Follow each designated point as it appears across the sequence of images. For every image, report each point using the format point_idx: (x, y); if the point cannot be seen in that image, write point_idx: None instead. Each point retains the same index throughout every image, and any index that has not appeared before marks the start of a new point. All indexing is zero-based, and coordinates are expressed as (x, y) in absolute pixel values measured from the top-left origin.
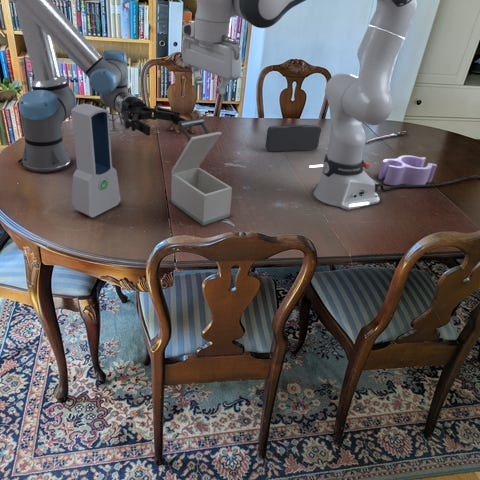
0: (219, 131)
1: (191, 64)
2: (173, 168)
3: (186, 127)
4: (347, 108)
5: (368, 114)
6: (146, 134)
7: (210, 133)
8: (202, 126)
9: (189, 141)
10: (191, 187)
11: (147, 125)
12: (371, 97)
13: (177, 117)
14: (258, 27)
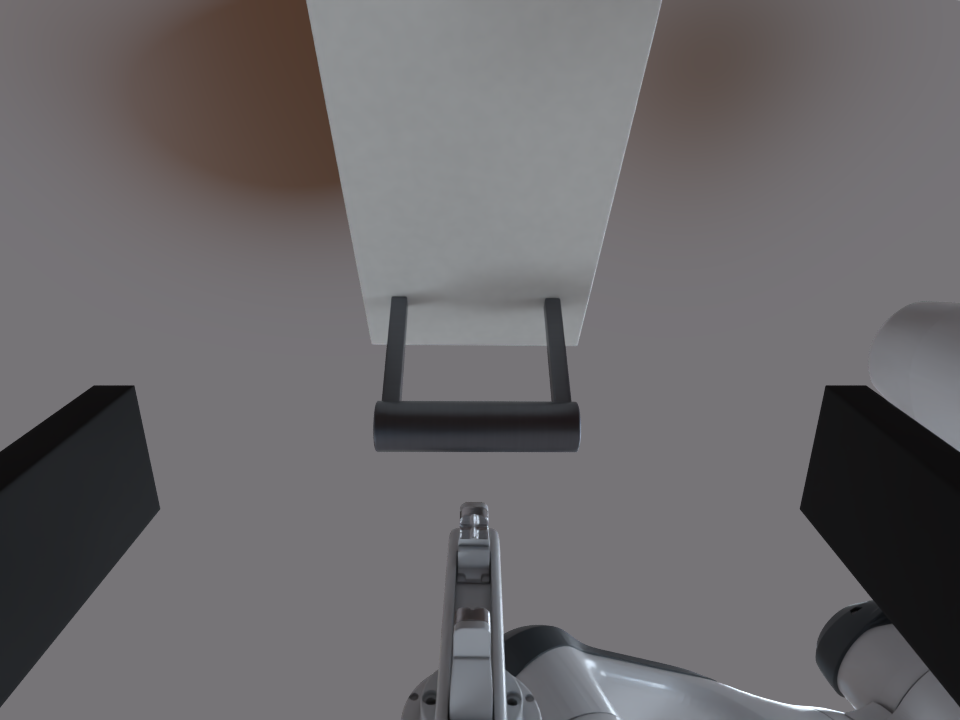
0: (571, 345)
1: (436, 710)
2: (314, 35)
3: (425, 401)
4: (954, 362)
5: (873, 340)
6: (72, 411)
7: (503, 344)
8: (552, 388)
9: (367, 319)
10: None
11: (123, 547)
12: (876, 388)
13: (939, 660)
14: (517, 633)
